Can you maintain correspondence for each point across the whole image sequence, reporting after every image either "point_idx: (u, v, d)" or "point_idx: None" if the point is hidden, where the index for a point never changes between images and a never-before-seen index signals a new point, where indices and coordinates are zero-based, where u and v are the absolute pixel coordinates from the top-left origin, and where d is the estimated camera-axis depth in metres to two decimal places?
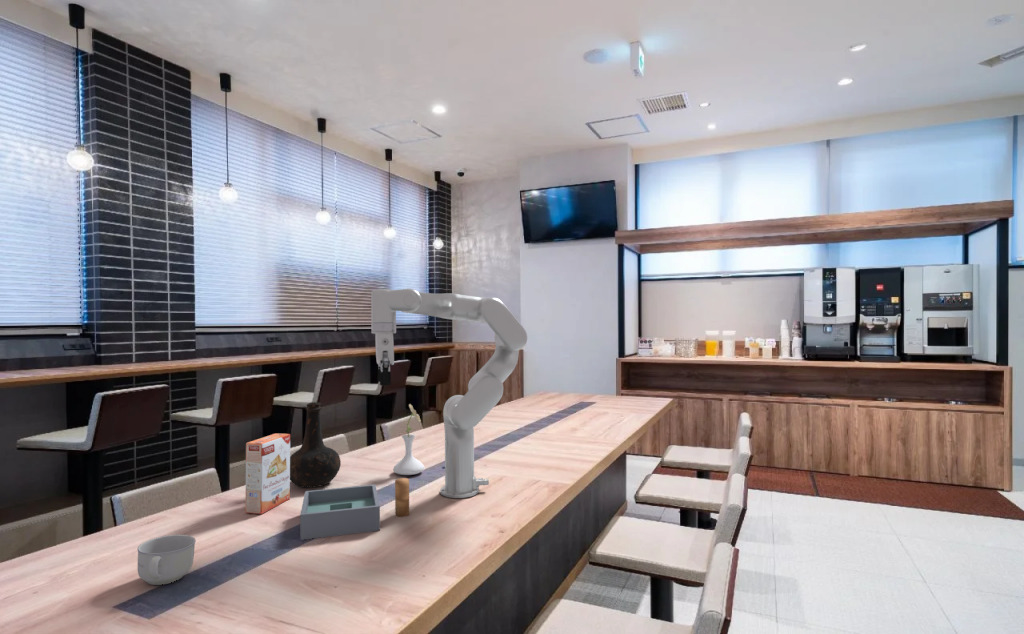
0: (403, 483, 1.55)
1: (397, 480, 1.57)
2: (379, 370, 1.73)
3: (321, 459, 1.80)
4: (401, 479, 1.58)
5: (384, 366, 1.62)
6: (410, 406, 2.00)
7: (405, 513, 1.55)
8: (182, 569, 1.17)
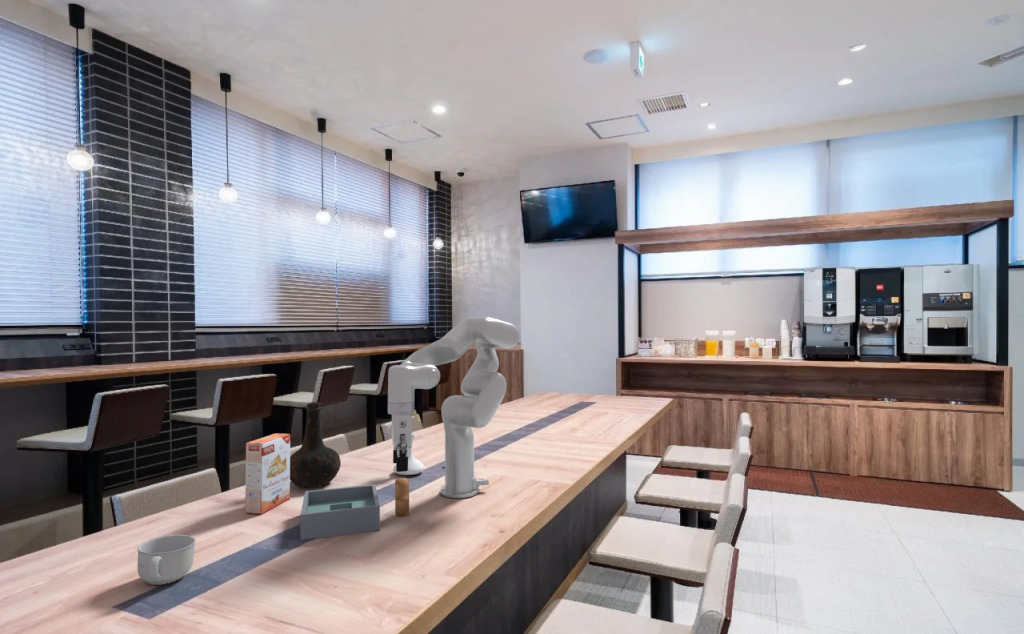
0: (403, 483, 1.55)
1: (397, 480, 1.57)
2: (395, 451, 1.60)
3: (321, 459, 1.80)
4: (401, 479, 1.58)
5: (401, 452, 1.49)
6: None
7: (405, 513, 1.55)
8: (182, 569, 1.17)
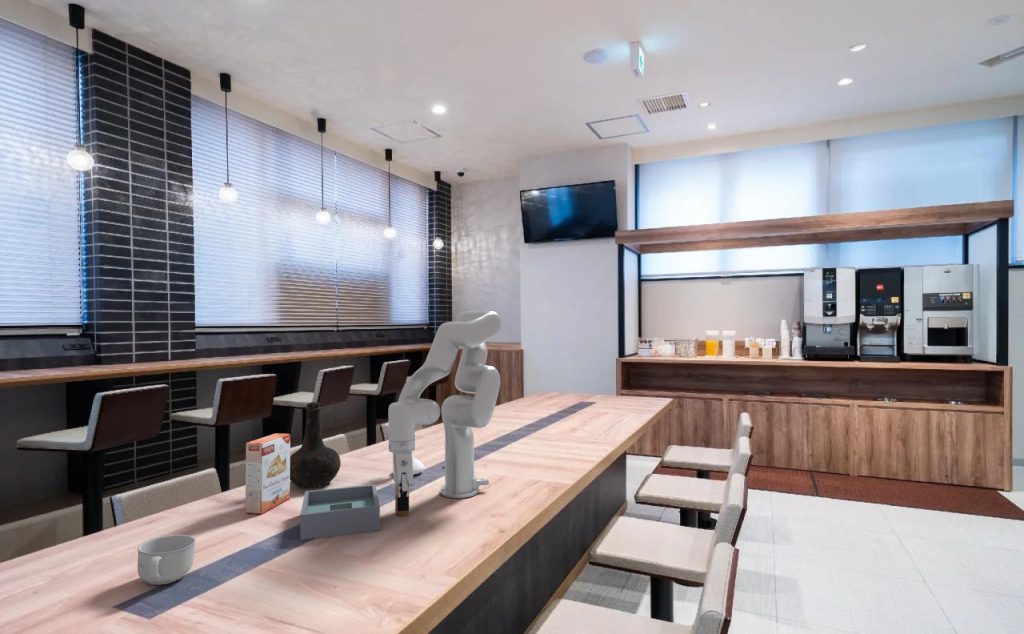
0: None
1: None
2: None
3: (321, 459, 1.80)
4: None
5: (402, 493, 1.52)
6: None
7: (405, 513, 1.55)
8: (182, 569, 1.17)
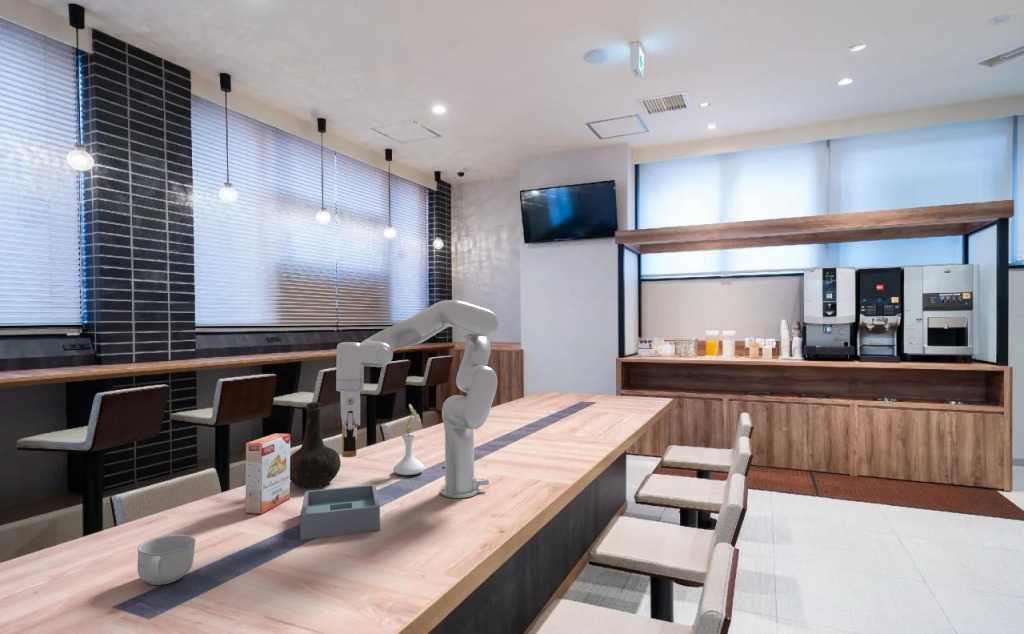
0: None
1: None
2: None
3: (321, 459, 1.80)
4: None
5: (348, 431, 1.50)
6: (410, 406, 2.00)
7: (352, 454, 1.53)
8: (182, 569, 1.17)
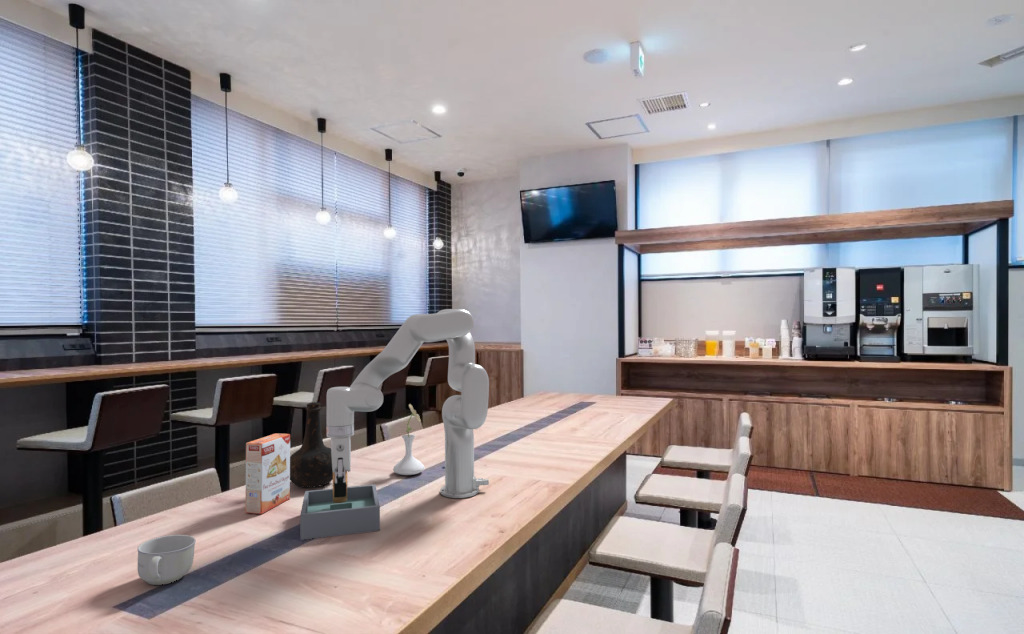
0: None
1: None
2: None
3: (321, 459, 1.80)
4: None
5: (338, 478, 1.50)
6: (410, 406, 2.00)
7: (342, 499, 1.53)
8: (182, 569, 1.17)
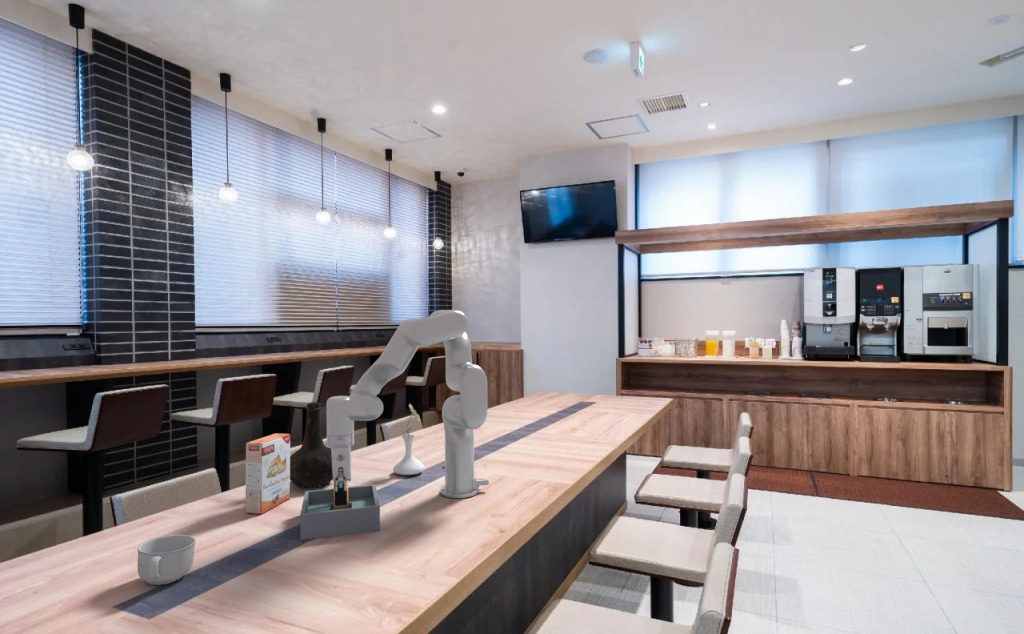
0: None
1: None
2: None
3: (321, 459, 1.80)
4: None
5: (339, 486, 1.47)
6: (410, 406, 2.00)
7: None
8: (182, 569, 1.17)
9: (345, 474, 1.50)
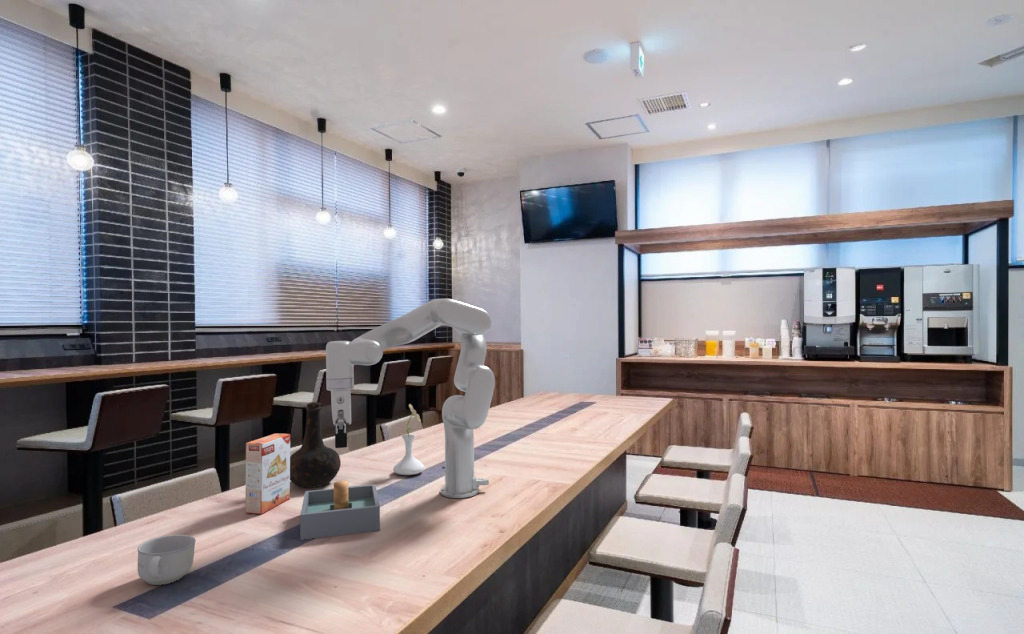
0: (341, 486, 1.53)
1: (336, 483, 1.54)
2: None
3: (321, 459, 1.80)
4: (340, 482, 1.55)
5: (339, 428, 1.47)
6: (410, 406, 2.00)
7: None
8: (182, 569, 1.17)
9: (345, 417, 1.50)
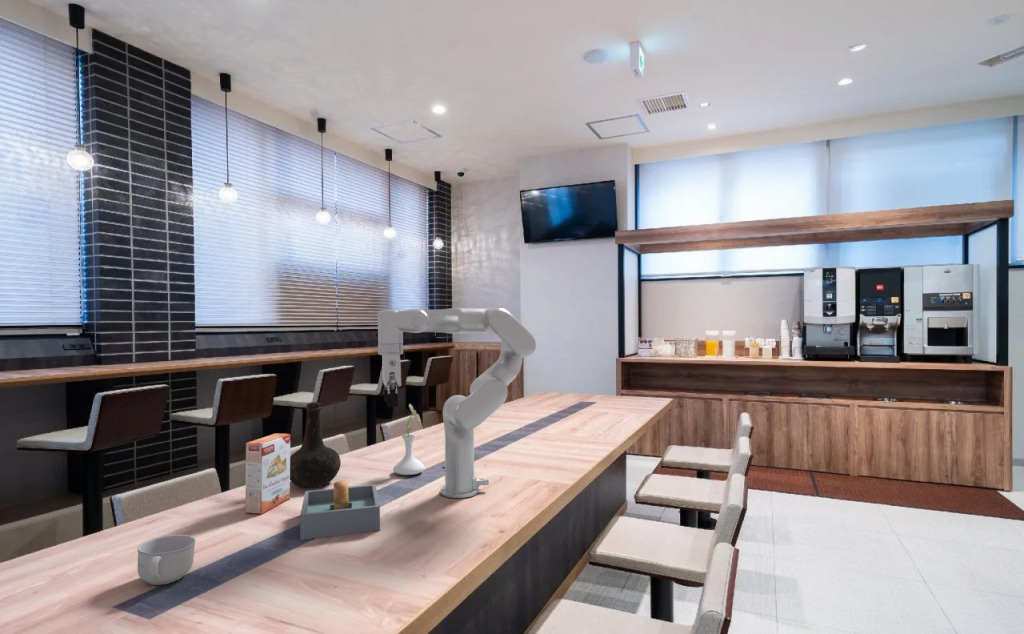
0: (341, 486, 1.53)
1: (336, 483, 1.54)
2: (386, 391, 1.72)
3: (321, 459, 1.80)
4: (340, 482, 1.55)
5: (391, 388, 1.60)
6: (410, 406, 2.00)
7: None
8: (182, 569, 1.17)
9: (396, 379, 1.63)
